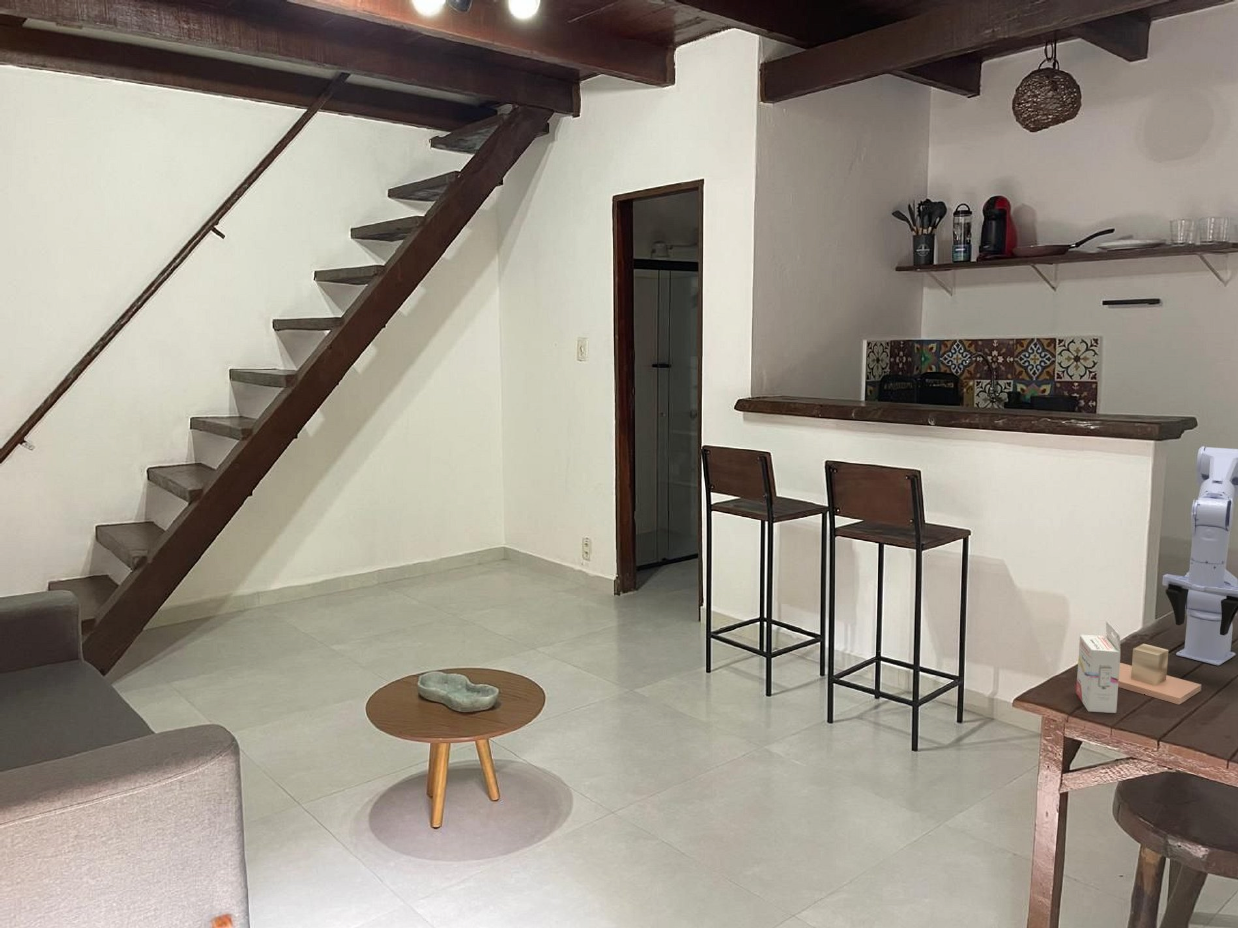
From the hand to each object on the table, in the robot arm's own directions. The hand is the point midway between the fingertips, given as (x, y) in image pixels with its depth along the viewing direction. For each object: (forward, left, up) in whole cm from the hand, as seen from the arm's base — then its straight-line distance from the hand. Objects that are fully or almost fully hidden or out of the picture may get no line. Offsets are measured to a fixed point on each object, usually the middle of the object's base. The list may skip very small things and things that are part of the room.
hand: (1201, 628), depth 179 cm
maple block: (+10, -5, -9) cm, 14 cm away
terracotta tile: (+10, -5, -10) cm, 15 cm away
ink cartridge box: (+26, -8, -11) cm, 29 cm away
